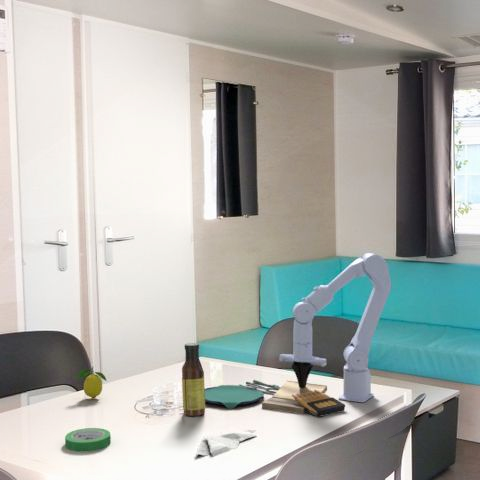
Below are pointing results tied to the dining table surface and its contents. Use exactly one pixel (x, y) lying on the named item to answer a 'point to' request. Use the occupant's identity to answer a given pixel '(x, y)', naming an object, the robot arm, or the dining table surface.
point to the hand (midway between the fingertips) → (302, 387)
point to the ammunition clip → (319, 403)
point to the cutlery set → (237, 394)
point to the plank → (297, 390)
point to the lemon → (92, 383)
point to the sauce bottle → (193, 382)
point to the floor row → (284, 405)
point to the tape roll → (78, 443)
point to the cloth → (222, 442)
